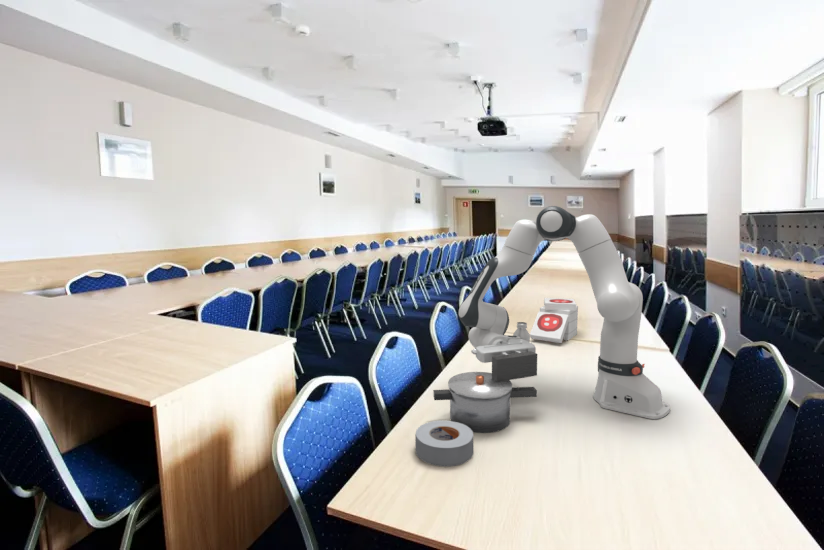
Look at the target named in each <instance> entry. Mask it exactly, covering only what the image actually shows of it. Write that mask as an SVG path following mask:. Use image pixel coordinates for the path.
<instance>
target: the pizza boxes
mask: <svg viewBox="0 0 824 550" xmlns="http://www.w3.org/2000/svg"><path fill="white" fill-rule="evenodd" d="M578 310H579V306H578V305H577V302H576V301H575V299H574V298H564V297H563V298H559V297H558V298H557V297H556V298H555V297H544V300H543V306H541V307H539V311H537V314H536V317H535V320H534V322H533V325H532V328H531V330H530V332H529V334H530V339H533V340H537V341H538V340H539V341H544V342H545V341H546V342H552V343H557V344H558V343H559V344H562V342H563V341H567V340H569V339H570V340H571V339H573V338H574V337H575V336H576V335H577V334H578V321H579V320H578V319H579V318H578V313H579V311H578ZM573 336H574V337H573ZM563 339H564V340H563ZM570 340H569V341H570Z"/></svg>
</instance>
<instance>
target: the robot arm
mask: <svg viewBox="0 0 824 550" xmlns="http://www.w3.org/2000/svg"><path fill="white" fill-rule="evenodd" d="M565 239H568V240H570V242H571V243H572V244H573V245H574V248H575V251H576V252H577V254H578V256H579V258H580V260H581V262H582V264H583V266H584V269H585V271H586V273H587V276H588V279H589V282H590V285H591V289H592V292H593V295H594V298H595V301H596V307H597V311H598V313H599V315H600V316H601V317H602V318H603V323H602V328H601V333H600V341H599V342H600V346H599V355H598V361H597V372H598V374H597V379H596V380H597V381H596V385H595V390H594V391H593V395H592V398H593V400H595V402H597V403H598V404H599V406H600V407H601V408H603V409H604V410H605V409H606V410H611V411H615V412H618V413H624V414H628V415H631V416H632V415H633V416H636V417H641V418H646V419H649V420H657V419H661V418H664V417H665V416H667V415H668V414H669V413H670V411H671V406H670V404H669V403H668V402H665V401H663V395H662V392H661V389H660V387H659V386H658V385H657V384H655V383H654V382H653V381H652V380H651V379H650V378H649V377H647V376H646V375H645V374H644V372H643V371H644V368H645V364H646V363H641V362H639V360H638V346H639V333H640V327H641V320H642V311H643V303H644V302H643V301H644V299H643V292H642V290H641V289H640V287H639V286H637V284H635V283H633V282H629V281H628V277H627V274H626V271H625V269H624V264H623V260H622V258H621V256H620V254H619V252H618V250H617V248H616V246H615V244H614V242H613V240H612V237H611V236H610V234H609V232H608V231H607V229H606V227H605V226H604V224H603V223H602V221H600V219H599V217H597V216H596V215H594V214H592V213H590V214H589V213H588V214H582V215H580V216H575V215H574V214H572V213H571V212H569V211H567V210H566V209H564V208H563V207H561V206H557V205H551V206H547V207H544V208H543V209H542V210H540V212H539V213H538V214H537V215H536V220H531V219H519V220H517V221H516V222H515V223H514V225H513V226H512V228H511V229H510V231H509V233H508V235H507V237H506V239H505V241H504V243H503V247H502V249H500V251H499V252H498V254H497V255H496V256H495V257H492V258H490V259H489V260H488V261H487V262H486V264H485V265H484V267H483V269H482V270H481V272H480V273H479V275H478V277H477V279H476V280H475V282H474V284H473V286H472V288H471V289H470V291H469V293H468V294H467V295H466V297H465V299H464V300H462V302H461V304H460V306H459V308H458V311H457V312H458V313H457V315H458V319H459V320H460V322H461V324H462V325H463V326H465V327H470V328H471V329H470V330H469V332H468V341H469V343H470V345H471V346H472V347H473V349H471V351H470V352H471V354H473V355H475V358H476V359H477V360H478V361H479V362H480V363H484V364H487V363H492V357H495V356H502V355H509V354H516V353H523V352H530V351H532V352H534V353H536V350H537V349H536V345H535V344H534V343H532V342H528V341H526V340H522V339H520V337H519V336H513V335H506V332H507V330H508V327H509V323H510V317H509V316H510V315H509V313H508V310H507V309H506V308H505V307H504V306H501V305H498V304H493V303H489V302H486V301H483V299H484V298H485V296H486V294H487V293H488V291H489V289H490V287H491V286H492V284H493V283H494V281H496V280H497V279H499V278H503V277H509V276H510V277H511V276H517V275H520V274H522V273H524V272H526V271H527V270H528V269H529V267H530V266H531V264H532V262H533V259H534V256H535V254H536V251H537V249H538V247H539V245H540V243H542V242H543V241H545V242H546V241H548V242H560V241H563V240H565Z"/></svg>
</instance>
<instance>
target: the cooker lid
mask: <svg viewBox="0 0 824 550" xmlns="http://www.w3.org/2000/svg"><path fill="white" fill-rule="evenodd" d="M536 376H538V353H534V352H532V351H530V352H523V353H516V354H509V355H502V356H495V357H492V362H491V372H485V371H469V372H462V373H459V374H456V375H453V376H451V377H449V380H448V389H450V390H451V391H452V392H453V393H455V394H457V395H459V396H462V397H466V398H470V399H480V400H487V399H497V398H501V397H504V396H506V395H508V394H509V393H511V391H512V387H513V383H512V380H518V379H525V378H530V377H536Z"/></svg>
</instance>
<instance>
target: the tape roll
mask: <svg viewBox="0 0 824 550" xmlns="http://www.w3.org/2000/svg"><path fill="white" fill-rule="evenodd" d="M414 435H415V439H414V440H415V442H414V443H415V455H416V456H417V457H418V458H419V460H422V462H424V463H426V464H428V465H431V466H432V465H433V466H436V467H437V466H438V467H455V466H460V465H463V464H464V463H467V462H469V460H471V459H472V458H473V456H474V432H473V431H472V430H471V429H470V428H469V427H468V426H466V425H464V424H461V423H458V422H452V421H451V420H440V419H439V420H433V421H429V422H426V423H423V424H421V425H420V426H419V427H417V429H416V431H415V433H414Z"/></svg>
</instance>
